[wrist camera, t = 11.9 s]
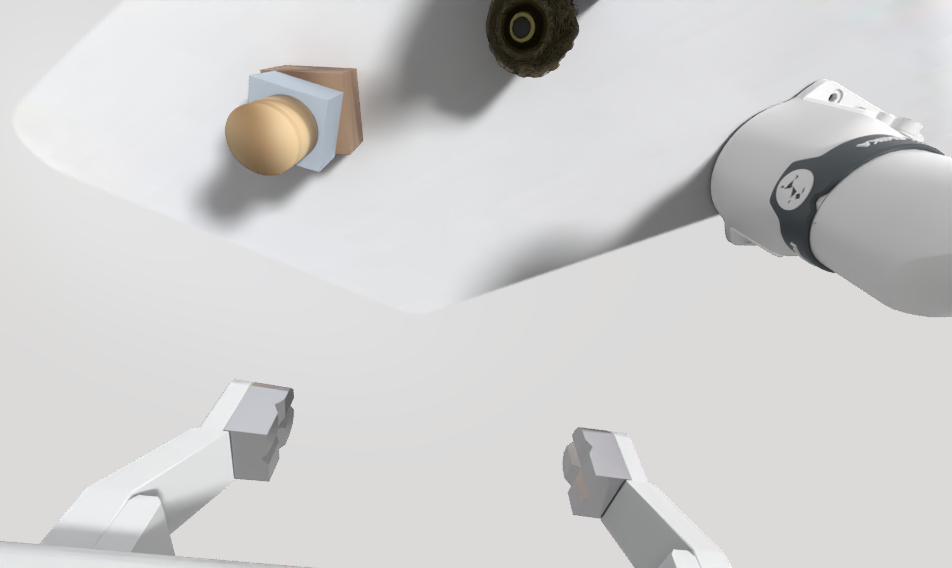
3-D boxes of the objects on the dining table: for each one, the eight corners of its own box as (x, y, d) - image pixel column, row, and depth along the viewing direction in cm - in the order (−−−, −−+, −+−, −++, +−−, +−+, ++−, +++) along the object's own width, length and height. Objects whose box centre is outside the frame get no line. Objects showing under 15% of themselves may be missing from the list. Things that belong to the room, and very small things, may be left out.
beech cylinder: (316, 98, 33) (294, 108, 29) (320, 161, 36) (300, 179, 32) (251, 90, 33) (219, 98, 29) (259, 154, 36) (231, 171, 31)
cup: (521, 87, 43) (532, 98, 36) (467, 32, 41) (467, 32, 34) (575, 23, 41) (598, 21, 34) (521, -41, 38) (533, -57, 31)
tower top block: (343, 92, 38) (327, 100, 34) (334, 157, 41) (319, 172, 36) (274, 70, 37) (249, 75, 33) (270, 138, 40) (246, 151, 35)
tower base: (356, 68, 42) (341, 73, 37) (363, 140, 46) (350, 154, 41) (285, 65, 42) (260, 69, 37) (297, 137, 46) (276, 151, 40)
